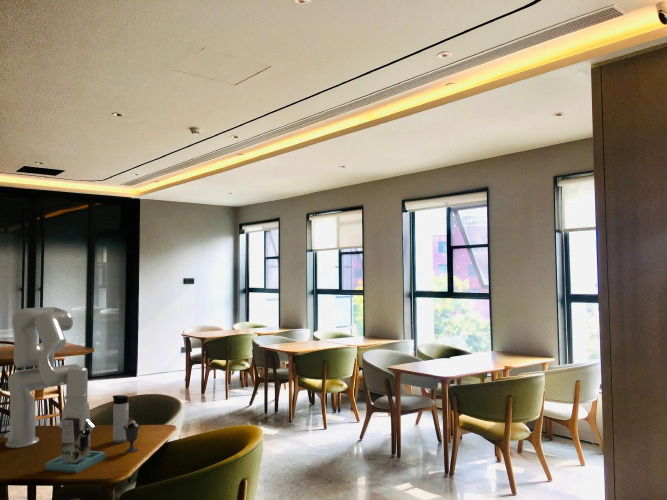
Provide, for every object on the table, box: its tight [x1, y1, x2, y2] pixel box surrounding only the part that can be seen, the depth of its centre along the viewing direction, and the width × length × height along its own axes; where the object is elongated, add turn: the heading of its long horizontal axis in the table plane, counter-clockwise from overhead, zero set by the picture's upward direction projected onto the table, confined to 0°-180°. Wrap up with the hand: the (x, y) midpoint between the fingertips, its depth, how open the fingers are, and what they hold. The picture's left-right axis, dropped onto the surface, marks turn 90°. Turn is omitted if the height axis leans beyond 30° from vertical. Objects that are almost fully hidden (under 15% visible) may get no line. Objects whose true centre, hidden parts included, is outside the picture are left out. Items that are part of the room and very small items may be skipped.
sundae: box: [123, 413, 141, 454], centre depth 227 cm, size 7×7×15 cm
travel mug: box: [112, 394, 129, 444], centre depth 240 cm, size 6×7×20 cm
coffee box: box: [60, 413, 92, 463], centre depth 212 cm, size 9×6×16 cm
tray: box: [44, 450, 107, 474], centre depth 211 cm, size 14×16×2 cm
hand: (76, 445), depth 211 cm, fingers closed on coffee box, 6 cm apart
